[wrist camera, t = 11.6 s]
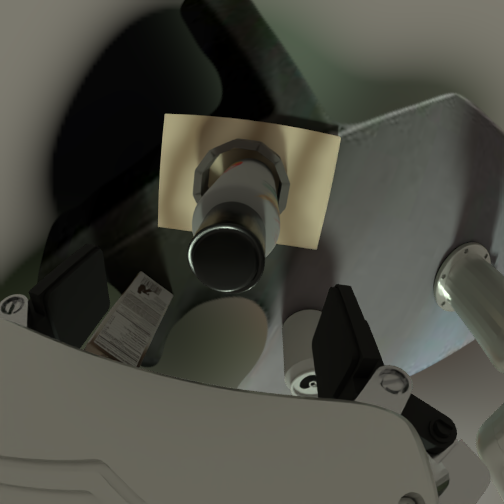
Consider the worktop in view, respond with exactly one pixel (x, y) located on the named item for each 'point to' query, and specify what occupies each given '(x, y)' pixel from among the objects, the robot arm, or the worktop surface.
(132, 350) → the coffee box
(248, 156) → the bottle holder
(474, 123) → the worktop surface
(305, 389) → the can
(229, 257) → the lotion bottle
